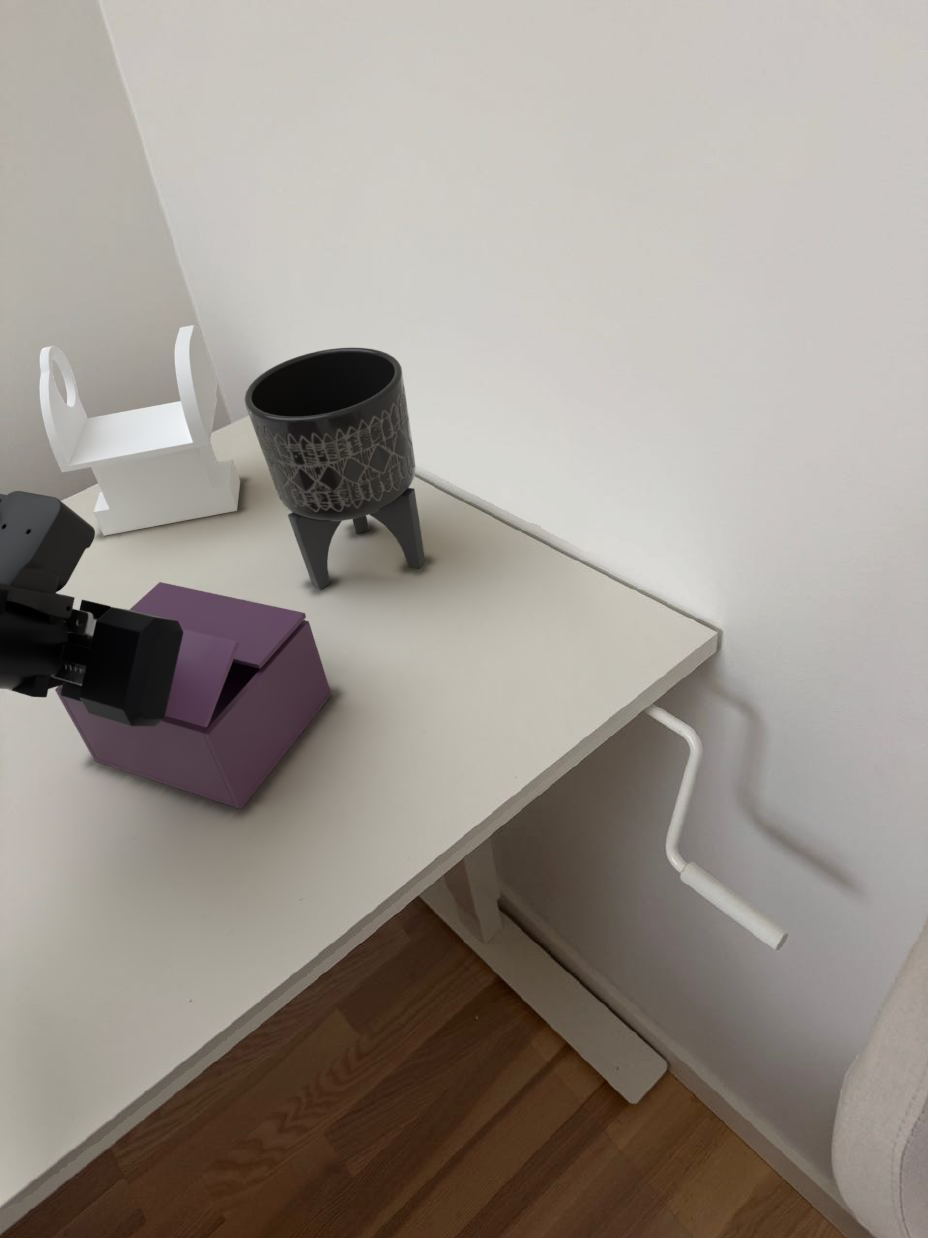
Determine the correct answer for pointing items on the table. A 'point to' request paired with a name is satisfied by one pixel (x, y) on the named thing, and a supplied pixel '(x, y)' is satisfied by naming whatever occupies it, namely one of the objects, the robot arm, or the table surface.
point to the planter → (338, 448)
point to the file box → (221, 701)
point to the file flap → (199, 676)
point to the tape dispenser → (145, 445)
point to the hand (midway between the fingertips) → (142, 653)
